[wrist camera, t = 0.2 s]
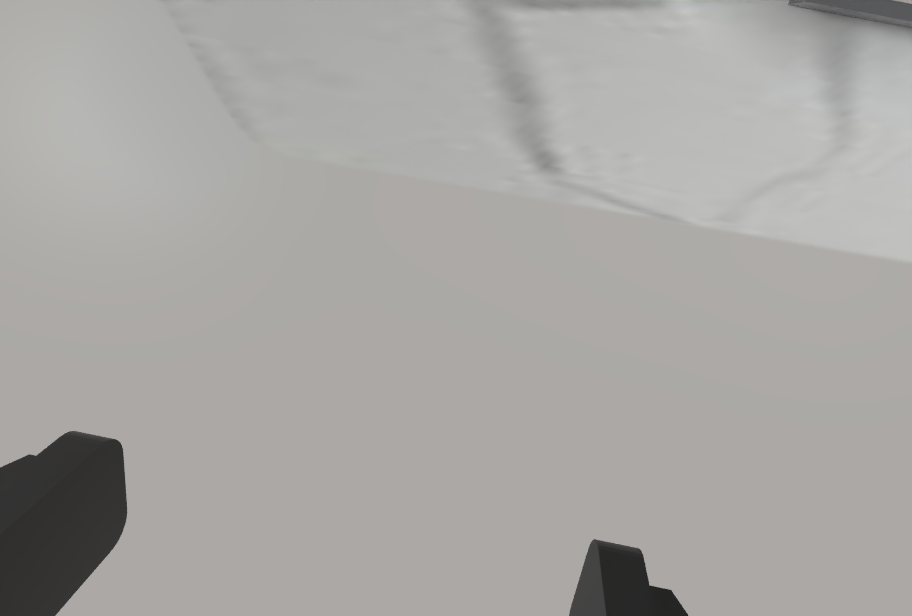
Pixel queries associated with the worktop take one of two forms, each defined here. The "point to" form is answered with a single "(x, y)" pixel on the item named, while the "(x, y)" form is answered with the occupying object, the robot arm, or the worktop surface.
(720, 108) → the worktop surface
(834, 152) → the worktop surface
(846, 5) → the breaker panel
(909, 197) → the worktop surface
